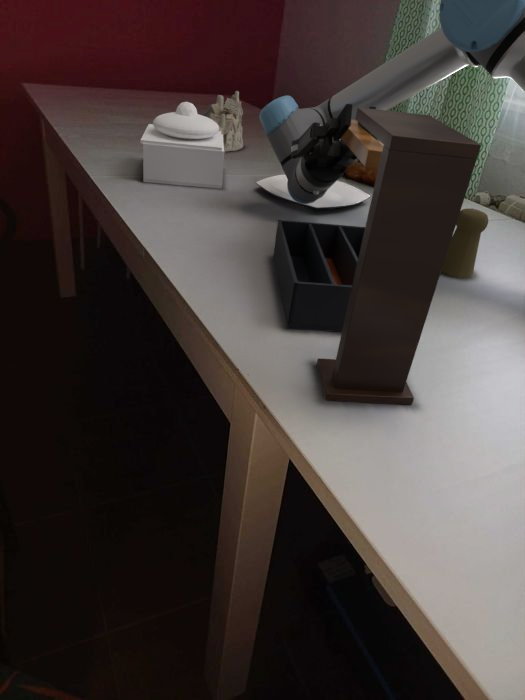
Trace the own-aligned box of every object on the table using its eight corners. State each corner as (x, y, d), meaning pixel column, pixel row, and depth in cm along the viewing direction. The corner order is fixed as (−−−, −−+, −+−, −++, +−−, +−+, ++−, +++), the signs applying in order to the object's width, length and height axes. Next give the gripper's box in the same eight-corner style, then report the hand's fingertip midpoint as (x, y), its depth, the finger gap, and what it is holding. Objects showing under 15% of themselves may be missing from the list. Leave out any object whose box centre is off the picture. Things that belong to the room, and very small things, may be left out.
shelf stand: (307, 330, 72) (348, 106, 57) (379, 335, 73) (438, 116, 58) (325, 400, 60) (384, 136, 45) (411, 404, 61) (497, 148, 46)
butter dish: (222, 188, 121) (227, 113, 113) (140, 181, 119) (139, 104, 111) (221, 168, 136) (225, 100, 128) (148, 161, 134) (148, 91, 125)
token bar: (334, 131, 79) (337, 117, 78) (351, 133, 80) (354, 119, 79) (364, 167, 63) (368, 149, 62) (385, 169, 63) (389, 151, 62)
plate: (241, 188, 123) (242, 180, 122) (309, 178, 138) (310, 170, 137) (315, 221, 110) (316, 211, 109) (381, 205, 124) (383, 197, 123)
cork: (441, 260, 99) (459, 202, 93) (474, 269, 97) (495, 210, 91) (435, 271, 94) (454, 210, 89) (470, 281, 93) (491, 219, 87)
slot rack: (272, 258, 92) (277, 219, 88) (361, 264, 93) (369, 227, 90) (287, 328, 72) (294, 282, 68) (398, 335, 74) (410, 291, 70)
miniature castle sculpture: (213, 134, 167) (215, 82, 158) (253, 149, 159) (258, 94, 150) (176, 143, 156) (176, 87, 147) (217, 159, 149) (220, 101, 140)
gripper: (362, 191, 95) (415, 150, 72) (275, 183, 93) (300, 138, 70) (365, 148, 95) (419, 93, 71) (278, 139, 93) (304, 79, 70)
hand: (360, 115), depth 71 cm, fingers closed on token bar, 2 cm apart
